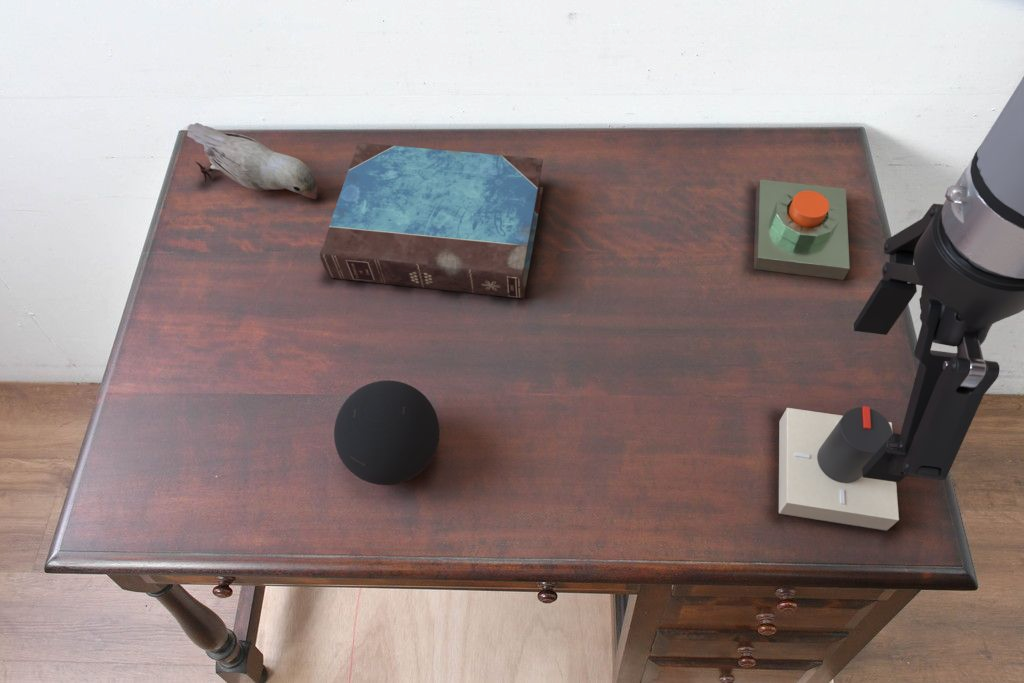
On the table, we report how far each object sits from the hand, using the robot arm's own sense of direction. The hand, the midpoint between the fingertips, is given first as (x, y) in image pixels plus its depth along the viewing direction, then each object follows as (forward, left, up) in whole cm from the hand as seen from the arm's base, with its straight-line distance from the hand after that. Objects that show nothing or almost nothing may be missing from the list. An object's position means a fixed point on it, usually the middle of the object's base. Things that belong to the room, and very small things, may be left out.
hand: (874, 398), depth 65 cm
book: (+24, +44, -16) cm, 52 cm away
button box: (+30, +2, -15) cm, 34 cm away
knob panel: (0, -1, -15) cm, 15 cm away
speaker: (-5, +42, -15) cm, 45 cm away
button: (+30, +2, -12) cm, 32 cm away
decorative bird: (+28, +68, -15) cm, 75 cm away
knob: (0, -1, -12) cm, 12 cm away
